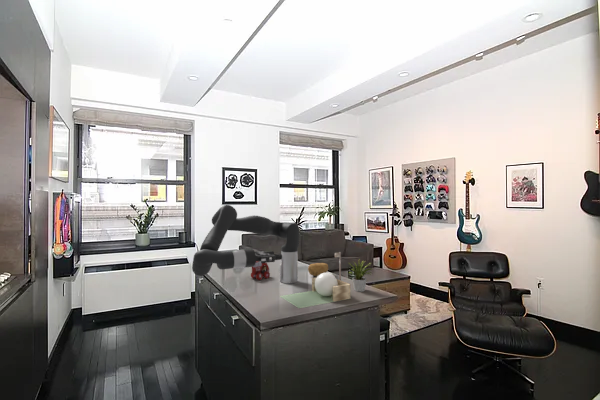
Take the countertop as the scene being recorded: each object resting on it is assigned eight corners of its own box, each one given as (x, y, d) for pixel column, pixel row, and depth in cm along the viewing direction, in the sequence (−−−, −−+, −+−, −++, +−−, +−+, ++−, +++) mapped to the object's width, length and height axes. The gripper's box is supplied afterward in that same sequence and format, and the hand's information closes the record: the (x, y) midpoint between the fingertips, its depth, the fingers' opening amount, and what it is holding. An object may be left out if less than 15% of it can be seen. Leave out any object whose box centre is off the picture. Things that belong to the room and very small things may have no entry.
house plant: (353, 296, 152) (353, 262, 152) (338, 289, 165) (338, 257, 165) (378, 293, 158) (378, 260, 158) (362, 286, 171) (362, 255, 171)
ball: (330, 264, 155) (339, 281, 159) (310, 273, 157) (319, 289, 161) (332, 278, 145) (342, 296, 149) (311, 287, 147) (321, 304, 150)
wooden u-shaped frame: (334, 301, 144) (334, 257, 144) (312, 290, 161) (311, 251, 161) (353, 298, 150) (353, 255, 149) (329, 287, 167) (329, 249, 166)
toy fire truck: (272, 277, 190) (272, 260, 190) (255, 281, 182) (255, 263, 182) (265, 275, 195) (265, 258, 195) (248, 279, 187) (248, 261, 187)
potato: (332, 276, 193) (332, 262, 193) (314, 279, 186) (314, 265, 186) (322, 273, 202) (322, 260, 201) (304, 276, 194) (304, 262, 194)
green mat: (299, 309, 135) (299, 308, 135) (279, 296, 153) (279, 296, 153) (351, 299, 149) (351, 298, 149) (328, 288, 166) (328, 288, 166)
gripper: (248, 252, 127) (284, 248, 135) (237, 247, 140) (271, 244, 148) (248, 271, 127) (284, 266, 135) (237, 264, 140) (271, 260, 148)
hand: (277, 255), depth 141 cm, fingers open, 8 cm apart
